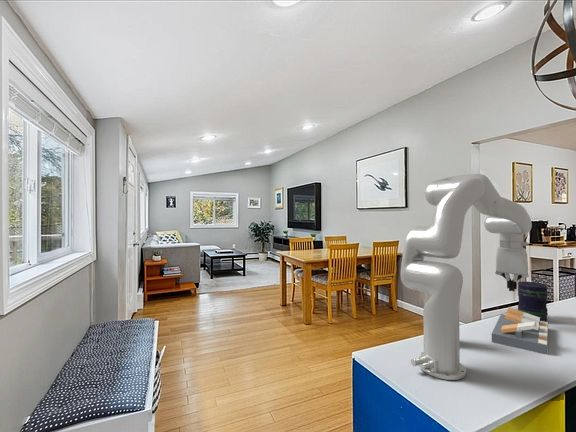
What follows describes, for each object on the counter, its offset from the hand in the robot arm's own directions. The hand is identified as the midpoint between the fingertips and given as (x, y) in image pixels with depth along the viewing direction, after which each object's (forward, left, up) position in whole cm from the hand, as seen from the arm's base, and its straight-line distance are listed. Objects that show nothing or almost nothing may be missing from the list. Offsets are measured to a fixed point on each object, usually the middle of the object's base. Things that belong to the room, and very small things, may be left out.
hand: (511, 290), depth 120 cm
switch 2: (-6, -7, -10) cm, 13 cm away
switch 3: (-13, -11, -10) cm, 19 cm away
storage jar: (+16, +3, -15) cm, 22 cm away
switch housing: (-6, -7, -15) cm, 17 cm away
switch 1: (+1, -3, -10) cm, 10 cm away
